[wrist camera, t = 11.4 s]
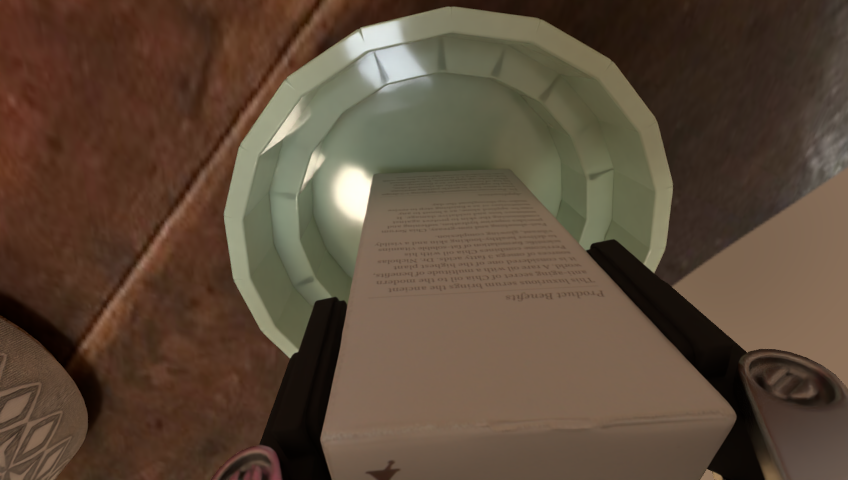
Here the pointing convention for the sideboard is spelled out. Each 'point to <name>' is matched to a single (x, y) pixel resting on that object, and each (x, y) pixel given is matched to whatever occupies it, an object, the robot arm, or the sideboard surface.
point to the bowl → (435, 148)
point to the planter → (36, 409)
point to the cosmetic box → (502, 350)
